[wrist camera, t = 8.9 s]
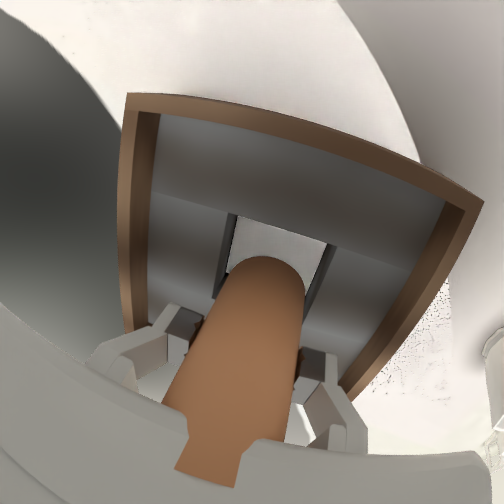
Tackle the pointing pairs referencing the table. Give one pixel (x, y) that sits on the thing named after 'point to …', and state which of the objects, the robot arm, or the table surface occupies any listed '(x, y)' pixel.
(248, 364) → the peg
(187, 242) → the box
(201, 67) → the table surface
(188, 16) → the table surface
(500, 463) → the skeletal toy car
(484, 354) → the cup
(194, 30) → the table surface
